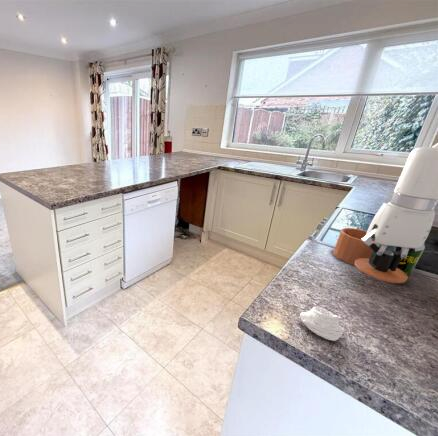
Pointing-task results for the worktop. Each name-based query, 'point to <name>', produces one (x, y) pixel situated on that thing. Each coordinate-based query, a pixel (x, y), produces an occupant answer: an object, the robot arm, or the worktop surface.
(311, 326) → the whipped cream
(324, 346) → the worktop surface
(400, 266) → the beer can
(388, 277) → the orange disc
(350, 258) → the pot
